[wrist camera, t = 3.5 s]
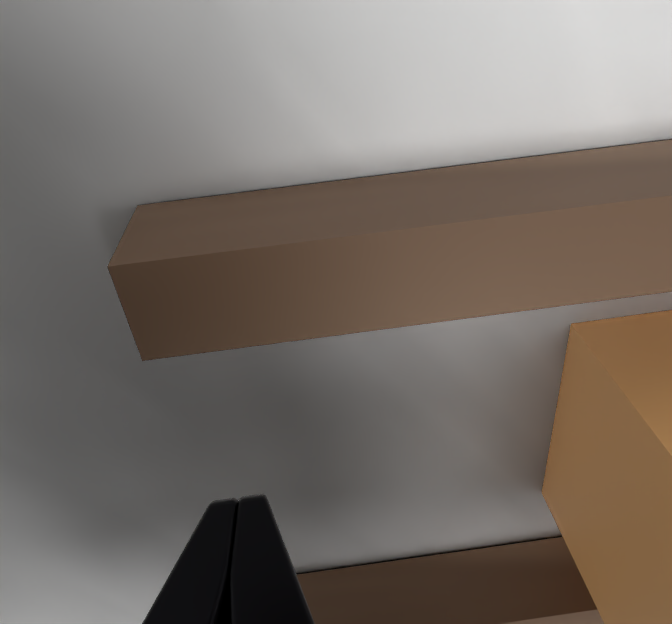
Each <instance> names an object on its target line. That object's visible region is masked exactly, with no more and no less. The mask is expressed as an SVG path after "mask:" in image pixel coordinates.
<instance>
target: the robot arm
mask: <svg viewBox="0 0 672 624" xmlns="http://www.w3.org/2000/svg"><path fill="white" fill-rule="evenodd" d="M142 624H315V622H314V620H313V617H312V615H311V612H310V609H309V607H308V604H307V601H306V599H305V596H304V594H303V591H302V588H301V586H300V583H299V581H298V578H297V575H296V573H295V570H294V567H293V565H292V562H291V560H290V557H289V554H288V552H287V549H286V547H285V544H284V541H283V539H282V536H281V533H280V531H279V528H278V526H277V523H276V520H275V518H274V515H273V513H272V510H271V507H270V505H269V502H268V500H267V497H266V496H265V495H263V494H260V495H252V496H245V497H242V498H241V499H240V500H239V501H238V499H236V498H231V499H223V500H216V501H213V502H212V503H210V505H209V506H208V508H207V509H206V511H205V513H204V515H203V516H202V518H201V520H200V522H199V524H198V525H197V527H196V529H195V531H194V532H193V534H192V536H191V538H190V540H189V541H188V543H187V545H186V547H185V548H184V550H183V552H182V554H181V556H180V557H179V559H178V561H177V563H176V564H175V566H174V568H173V570H172V572H171V573H170V575H169V577H168V579H167V580H166V582H165V584H164V586H163V588H162V589H161V591H160V593H159V595H158V596H157V598H156V600H155V602H154V604H153V605H152V607H151V609H150V611H149V613H148V614H147V616H146V618H145V620H144V621H143V623H142Z"/></svg>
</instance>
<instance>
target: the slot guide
mask: <svg viewBox="0 0 672 624" xmlns="http://www.w3.org/2000/svg"><path fill="white" fill-rule="evenodd" d="M107 267H108V270H109V272H110V275H111V278H112V280H113V283H114V286H115V289H116V291H117V294H118V297H119V299H120V302H121V305H122V307H123V310H124V313H125V315H126V318H127V321H128V324H129V326H130V329H131V332H132V334H133V337H134V340H135V342H136V345H137V348H138V350H139V353H140V356H141V359H142V361H145V360H152V359H160V358H168V357H175V356H183V355H191V354H198V353H206V352H213V351H221V350H229V349H236V348H244V347H252V346H259V345H267V344H275V343H282V342H290V341H298V340H305V339H313V338H321V337H328V336H336V335H344V334H351V333H359V332H366V331H374V330H382V329H389V328H397V327H405V326H412V325H420V324H428V323H435V322H443V321H451V320H458V319H466V318H474V317H481V316H489V315H496V314H504V313H512V312H519V311H527V310H535V309H542V308H550V307H558V306H565V305H573V304H581V303H588V302H596V301H604V300H611V299H619V298H626V297H634V296H642V295H649V294H657V293H665V292H672V139H671V140H663V141H655V142H647V143H639V144H631V145H623V146H615V147H607V148H598V149H590V150H582V151H574V152H566V153H558V154H550V155H542V156H534V157H526V158H517V159H509V160H501V161H493V162H485V163H477V164H469V165H461V166H453V167H445V168H436V169H428V170H420V171H412V172H404V173H396V174H388V175H380V176H372V177H364V178H355V179H347V180H339V181H331V182H323V183H315V184H307V185H299V186H291V187H283V188H274V189H266V190H258V191H250V192H242V193H234V194H226V195H218V196H210V197H202V198H193V199H185V200H177V201H169V202H161V203H153V204H145V205H138V206H137V208H136V210H135V212H134V214H133V216H132V218H131V220H130V222H129V224H128V226H127V228H126V230H125V232H124V234H123V236H122V238H121V240H120V242H119V244H118V246H117V248H116V250H115V252H114V254H113V256H112V258H111V260H110V262H109V264H108V266H107ZM297 578H298V581H299V583H300V586H301V588H302V591H303V594H304V596H305V599H306V601H307V604H308V607H309V609H310V612H311V615H312V617H313V620H314V622H315V624H604V622H603V620H602V618H601V616H600V614H599V611H598V609H597V607H596V605H595V603H594V601H593V599H592V597H591V595H590V593H589V591H588V588H587V586H586V584H585V582H584V580H583V578H582V576H581V574H580V572H579V570H578V568H577V565H576V563H575V561H574V559H573V557H572V555H571V553H570V551H569V549H568V547H567V545H566V543H565V540H564V538H563V537H558V538H551V539H544V540H537V541H530V542H523V543H516V544H509V545H502V546H495V547H488V548H481V549H474V550H467V551H460V552H453V553H446V554H439V555H432V556H425V557H417V558H410V559H403V560H396V561H389V562H382V563H375V564H368V565H361V566H354V567H347V568H340V569H333V570H326V571H319V572H312V573H305V574H298V575H297Z"/></svg>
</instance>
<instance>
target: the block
mask: <svg viewBox="0 0 672 624" xmlns="http://www.w3.org/2000/svg"><path fill="white" fill-rule="evenodd" d="M542 495H543V497H544V499H545V501H546V503H547V505H548V507H549V509H550V511H551V513H552V515H553V517H554V520H555V522H556V524H557V526H558V528H559V530H560V532H561V534H562V536H563V538H564V540H565V543H566V545H567V547H568V549H569V551H570V553H571V555H572V557H573V559H574V561H575V563H576V565H577V568H578V570H579V572H580V574H581V576H582V578H583V580H584V582H585V584H586V586H587V588H588V591H589V593H590V595H591V597H592V599H593V601H594V603H595V605H596V607H597V609H598V611H599V614H600V616H601V618H602V620H603V622H604V624H672V310H668V311H660V312H653V313H646V314H638V315H631V316H624V317H616V318H609V319H601V320H594V321H587V322H579V323H572V324H571V326H570V332H569V338H568V344H567V349H566V355H565V361H564V367H563V372H562V378H561V384H560V390H559V395H558V401H557V407H556V413H555V418H554V424H553V430H552V436H551V441H550V447H549V453H548V459H547V464H546V470H545V476H544V482H543V487H542Z"/></svg>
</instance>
